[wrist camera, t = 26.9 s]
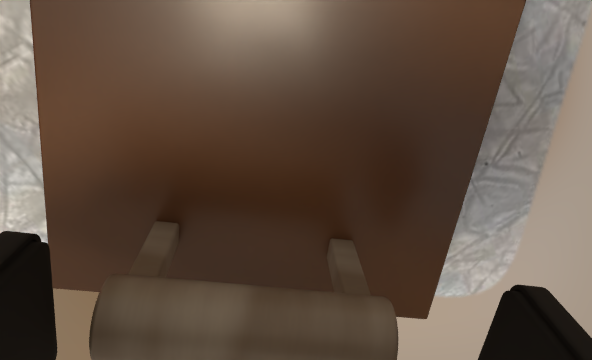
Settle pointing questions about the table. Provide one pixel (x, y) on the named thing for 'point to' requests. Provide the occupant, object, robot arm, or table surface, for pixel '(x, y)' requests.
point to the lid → (260, 166)
